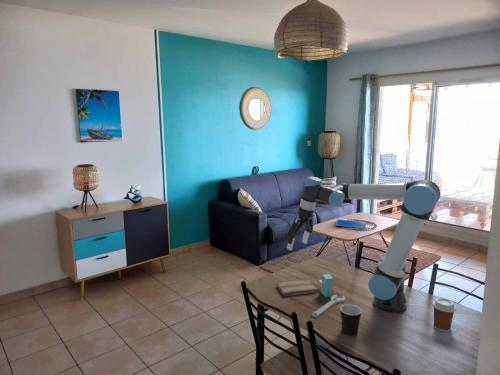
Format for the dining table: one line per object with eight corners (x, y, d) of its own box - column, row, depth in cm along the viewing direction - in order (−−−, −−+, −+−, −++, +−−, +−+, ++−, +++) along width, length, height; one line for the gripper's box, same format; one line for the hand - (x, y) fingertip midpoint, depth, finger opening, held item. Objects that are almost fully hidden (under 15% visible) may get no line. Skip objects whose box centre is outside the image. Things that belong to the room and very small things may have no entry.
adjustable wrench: (315, 319, 165) (316, 315, 165) (304, 314, 170) (304, 310, 169) (347, 300, 182) (347, 297, 181) (336, 296, 186) (336, 292, 186)
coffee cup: (441, 319, 163) (443, 294, 161) (459, 330, 155) (461, 304, 152) (425, 323, 160) (427, 298, 158) (442, 335, 152) (445, 308, 149)
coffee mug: (357, 339, 149) (358, 317, 147) (336, 333, 153) (337, 311, 152) (364, 326, 159) (365, 304, 157) (345, 320, 163) (346, 299, 161)
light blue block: (332, 296, 185) (333, 278, 183) (325, 297, 184) (326, 278, 182) (323, 287, 196) (324, 269, 194) (316, 287, 195) (317, 270, 193)
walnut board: (317, 292, 189) (317, 288, 189) (284, 296, 185) (284, 292, 185) (308, 282, 201) (308, 279, 200) (276, 286, 197) (277, 282, 196)
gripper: (313, 201, 190) (304, 237, 197) (285, 208, 172) (276, 248, 178) (326, 206, 186) (315, 243, 192) (298, 214, 167) (288, 255, 174)
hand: (296, 246), depth 185 cm, fingers open, 13 cm apart
